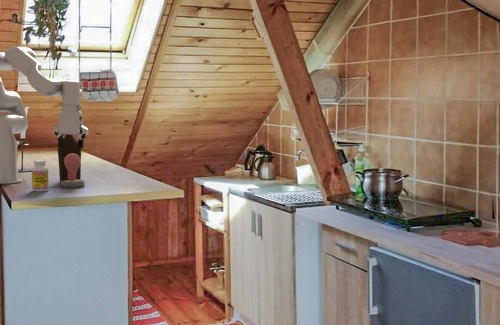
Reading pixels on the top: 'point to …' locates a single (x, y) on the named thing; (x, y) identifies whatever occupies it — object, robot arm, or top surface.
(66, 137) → the olive oil
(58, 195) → the top surface
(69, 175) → the light bulb
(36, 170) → the supplement bottle
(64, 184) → the socket base
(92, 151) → the top surface
